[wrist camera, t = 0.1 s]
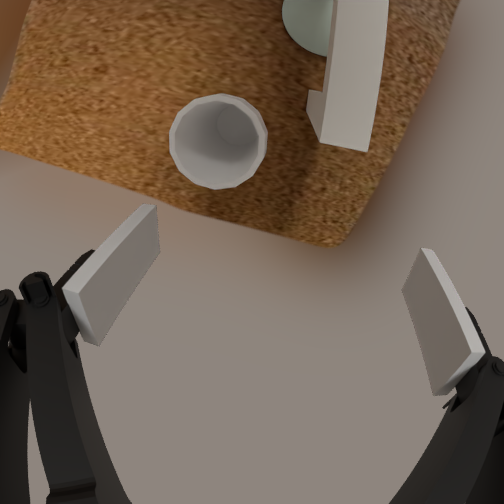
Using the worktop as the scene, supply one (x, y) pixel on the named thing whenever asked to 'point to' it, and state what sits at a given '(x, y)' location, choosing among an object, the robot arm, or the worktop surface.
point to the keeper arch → (342, 64)
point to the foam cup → (218, 141)
